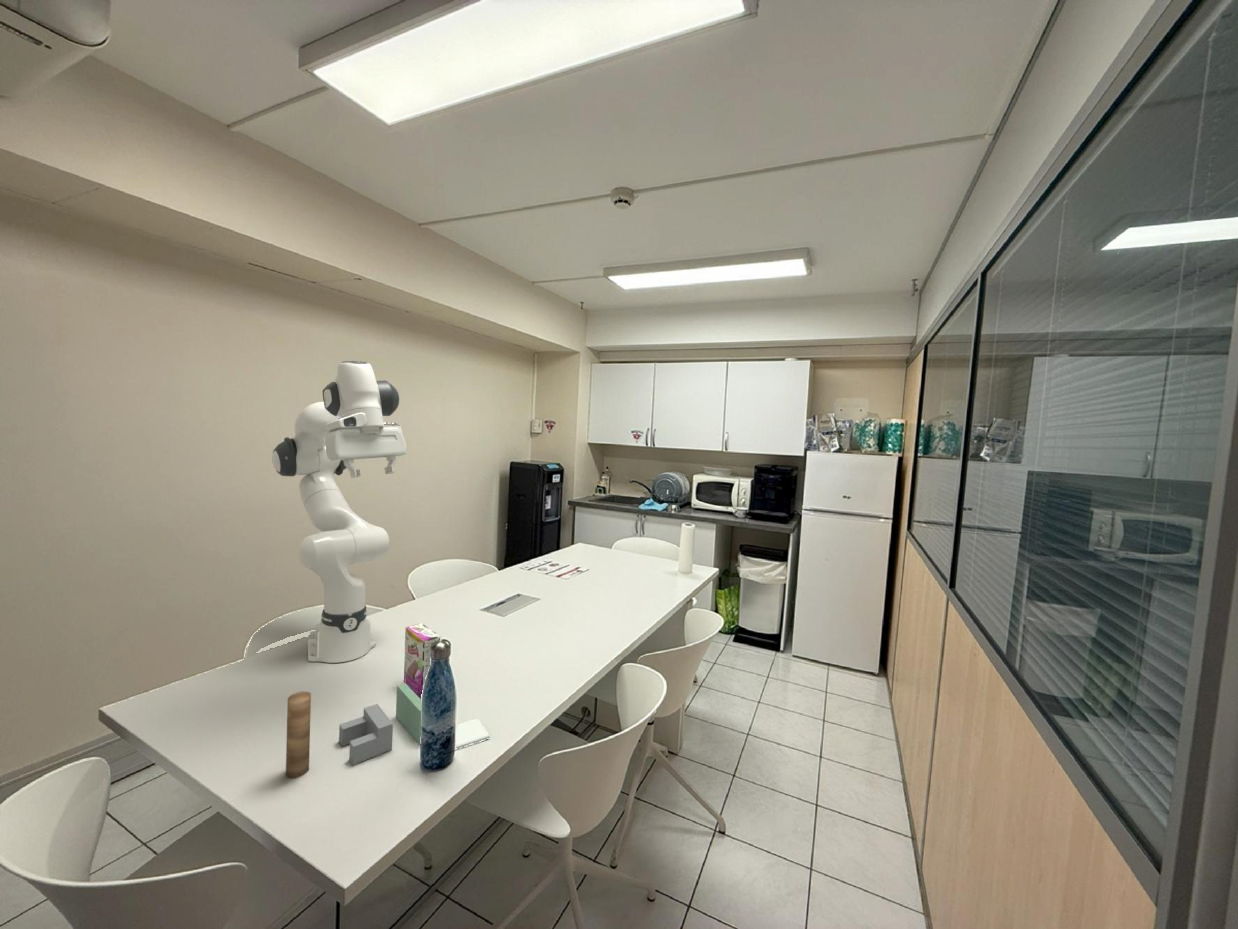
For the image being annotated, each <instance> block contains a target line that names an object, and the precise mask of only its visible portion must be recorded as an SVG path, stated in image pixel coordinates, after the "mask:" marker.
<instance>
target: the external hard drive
mask: <svg viewBox="0 0 1238 929" xmlns="http://www.w3.org/2000/svg"><path fill="white" fill-rule="evenodd" d="M456 725H457V729H456V748H457V749H458V750H460V749H459V748H460V747H464V746H466V745H469V744H471V743H475V742H479V741H481V740H484V739H487V738H491V737H490V736H491V735H490V734H489V732H488V731H487V729H486V728H485V726H484V724H483V723H482V721H481V720H480V719H479V717H477V718H473V719H471V720H467V721H464V722H461V723H457V724H456Z"/></svg>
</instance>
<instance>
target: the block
mask: <svg viewBox="0 0 1238 929" xmlns="http://www.w3.org/2000/svg"><path fill="white" fill-rule="evenodd" d="M393 728H394V723H393V722H392V720H391V719H390V718H389V716H387V714H386V713H385V712H384V710H383V709H382V708H381V706H380V705H379V704H378V703H376V704H372V705H369V706H366V707H364V708H363V716H360V717H357V718H355V719H351V720H349V721H346V722H342V723H340V724H339V733H338V734H339V735H338V742H339V744H340V746H341V747H346V746H348V745H349V753H348V755H349V761H350V762H351V764H352V765H356V764H359V763H361V762H364V761H366V760H368V759H371V758H374V757H376V756H378V755H381V754H384V753H386V752H389V751H391V750H392V749H393V735H394V734H393V733H394V732H393V730H394V729H393Z"/></svg>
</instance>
